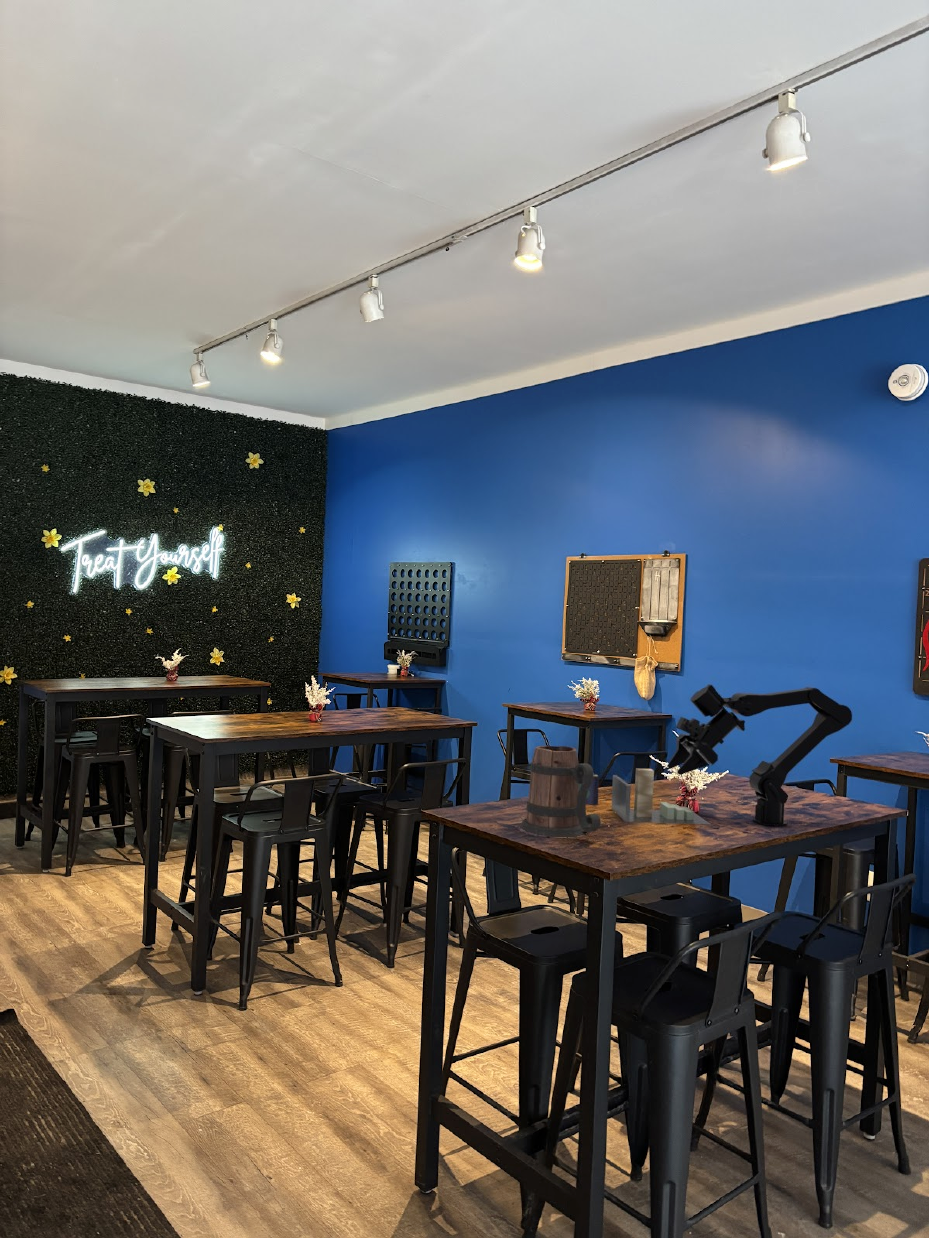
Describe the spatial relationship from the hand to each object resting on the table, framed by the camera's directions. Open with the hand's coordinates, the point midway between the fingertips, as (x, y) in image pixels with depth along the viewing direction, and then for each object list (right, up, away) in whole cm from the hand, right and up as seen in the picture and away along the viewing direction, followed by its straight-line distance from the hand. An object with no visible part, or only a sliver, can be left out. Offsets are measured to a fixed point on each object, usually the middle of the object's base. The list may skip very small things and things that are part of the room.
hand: (673, 770), depth 242 cm
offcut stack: (+1, -12, 0) cm, 12 cm away
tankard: (-31, -12, -20) cm, 39 cm away
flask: (-22, -12, +14) cm, 29 cm away
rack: (-4, -13, 0) cm, 13 cm away
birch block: (-8, -12, 0) cm, 14 cm away
